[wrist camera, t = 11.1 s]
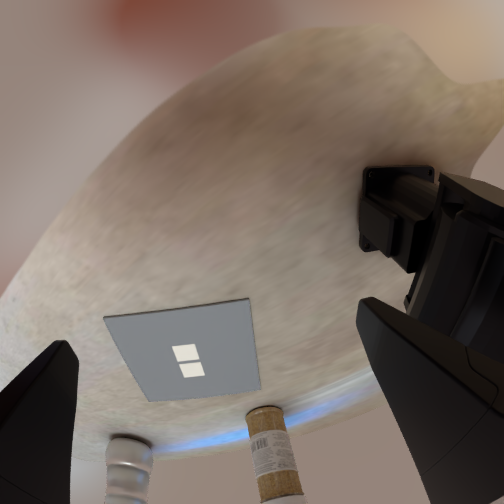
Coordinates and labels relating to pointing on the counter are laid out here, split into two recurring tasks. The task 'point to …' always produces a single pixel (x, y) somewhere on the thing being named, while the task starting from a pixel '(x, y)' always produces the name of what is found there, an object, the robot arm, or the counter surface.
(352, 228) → the counter surface
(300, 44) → the counter surface
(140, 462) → the plastic bottle
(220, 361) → the mat
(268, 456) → the sprinkles bottle
